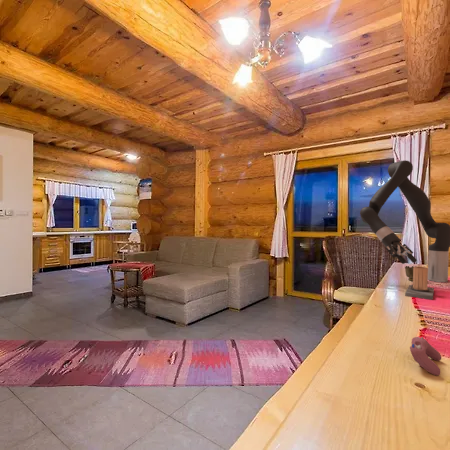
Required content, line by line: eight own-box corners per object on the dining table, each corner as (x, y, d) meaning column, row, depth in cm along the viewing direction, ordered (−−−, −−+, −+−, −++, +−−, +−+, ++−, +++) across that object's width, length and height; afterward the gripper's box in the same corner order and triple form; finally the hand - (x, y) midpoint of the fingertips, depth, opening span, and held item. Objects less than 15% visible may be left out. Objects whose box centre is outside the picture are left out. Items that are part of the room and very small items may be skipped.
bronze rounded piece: (406, 281, 159) (407, 267, 159) (402, 278, 166) (403, 265, 166) (422, 282, 157) (422, 268, 156) (417, 279, 164) (417, 266, 163)
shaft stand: (409, 287, 144) (410, 266, 144) (433, 290, 138) (434, 268, 138) (405, 295, 128) (405, 272, 128) (432, 299, 122) (433, 274, 122)
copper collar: (417, 286, 137) (417, 266, 137) (429, 289, 132) (430, 268, 132) (410, 288, 134) (410, 267, 134) (423, 290, 130) (423, 269, 129)
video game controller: (422, 361, 71) (408, 334, 73) (443, 359, 69) (428, 330, 71) (419, 378, 64) (403, 347, 66) (442, 376, 61) (425, 343, 63)
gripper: (384, 232, 142) (407, 258, 132) (401, 232, 148) (424, 256, 138) (373, 242, 146) (395, 268, 136) (390, 241, 153) (412, 265, 143)
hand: (410, 262), depth 137 cm, fingers open, 8 cm apart
